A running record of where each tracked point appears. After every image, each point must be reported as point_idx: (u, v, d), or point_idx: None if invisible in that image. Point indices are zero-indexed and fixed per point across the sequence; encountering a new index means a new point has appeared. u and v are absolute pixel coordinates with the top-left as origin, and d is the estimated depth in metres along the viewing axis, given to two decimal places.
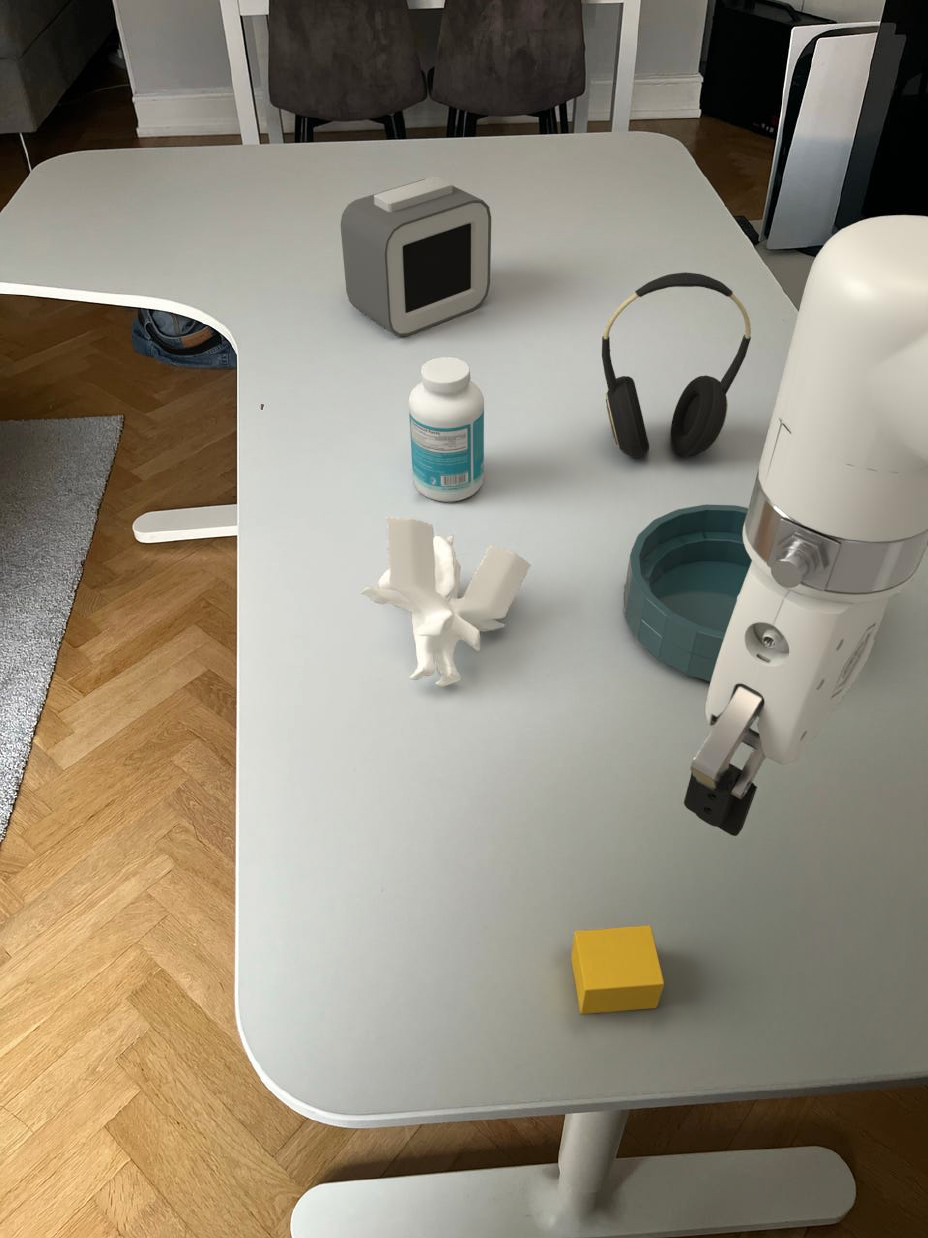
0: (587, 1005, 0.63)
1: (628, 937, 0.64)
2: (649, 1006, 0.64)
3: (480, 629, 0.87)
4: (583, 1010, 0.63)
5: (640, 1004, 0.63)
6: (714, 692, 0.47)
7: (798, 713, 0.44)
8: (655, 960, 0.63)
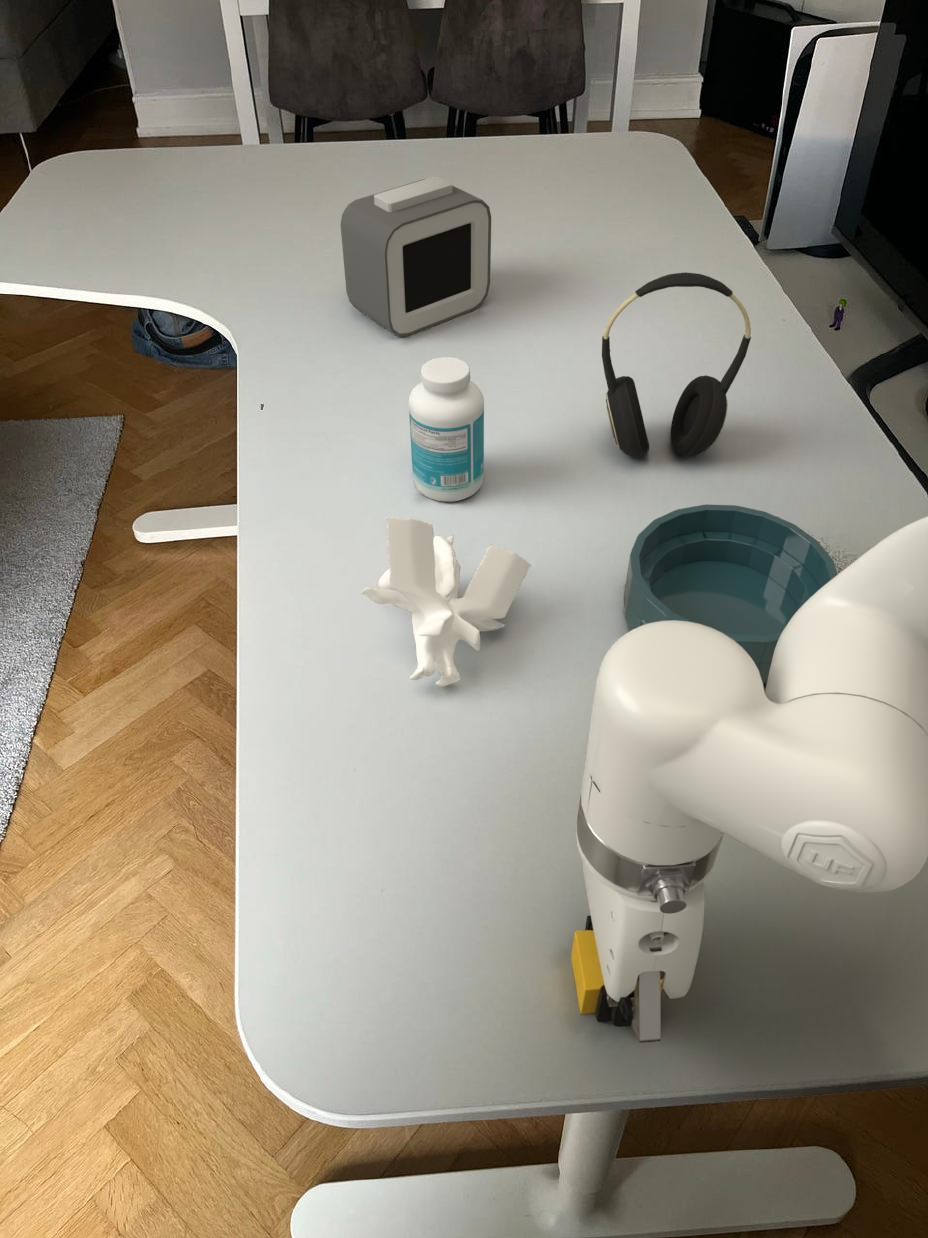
0: (587, 1005, 0.63)
1: None
2: None
3: (480, 629, 0.87)
4: (583, 1010, 0.63)
5: None
6: (619, 985, 0.54)
7: (692, 966, 0.54)
8: None
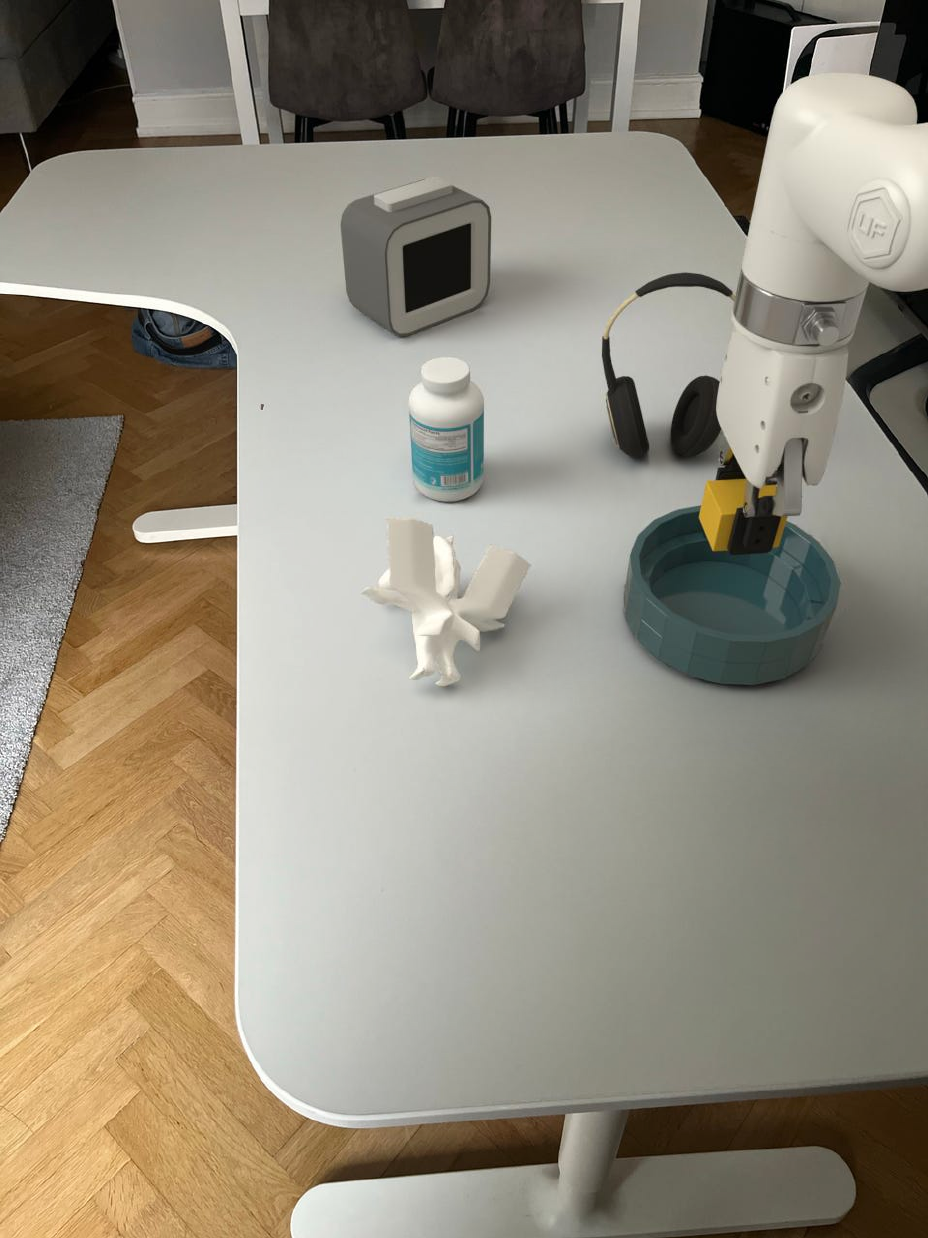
0: (720, 537, 0.72)
1: None
2: None
3: (480, 629, 0.87)
4: (715, 545, 0.72)
5: None
6: (767, 458, 0.63)
7: (831, 437, 0.63)
8: None
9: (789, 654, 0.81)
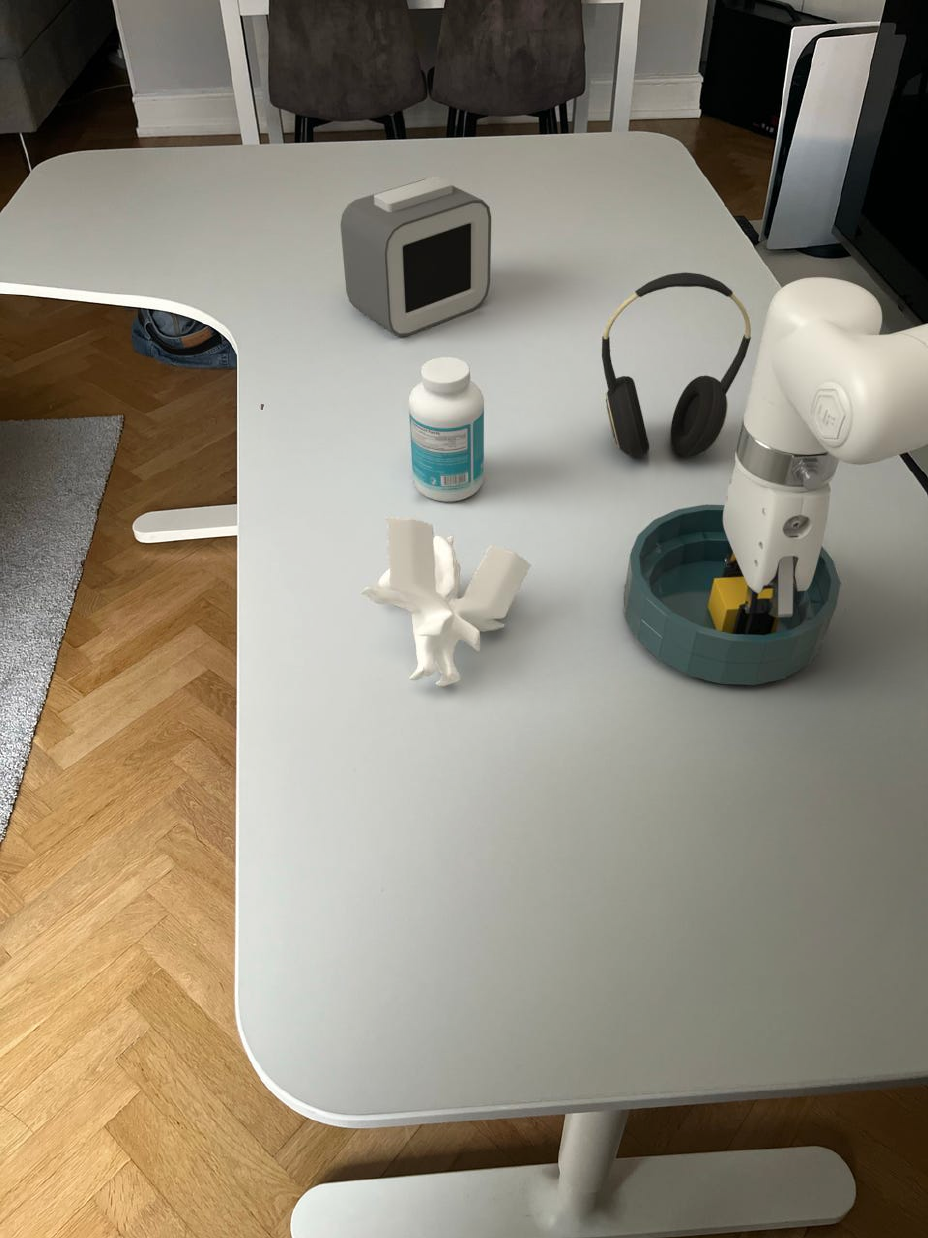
0: (725, 627, 0.85)
1: None
2: None
3: (480, 629, 0.87)
4: None
5: None
6: (764, 571, 0.77)
7: (817, 555, 0.77)
8: None
9: (789, 654, 0.81)
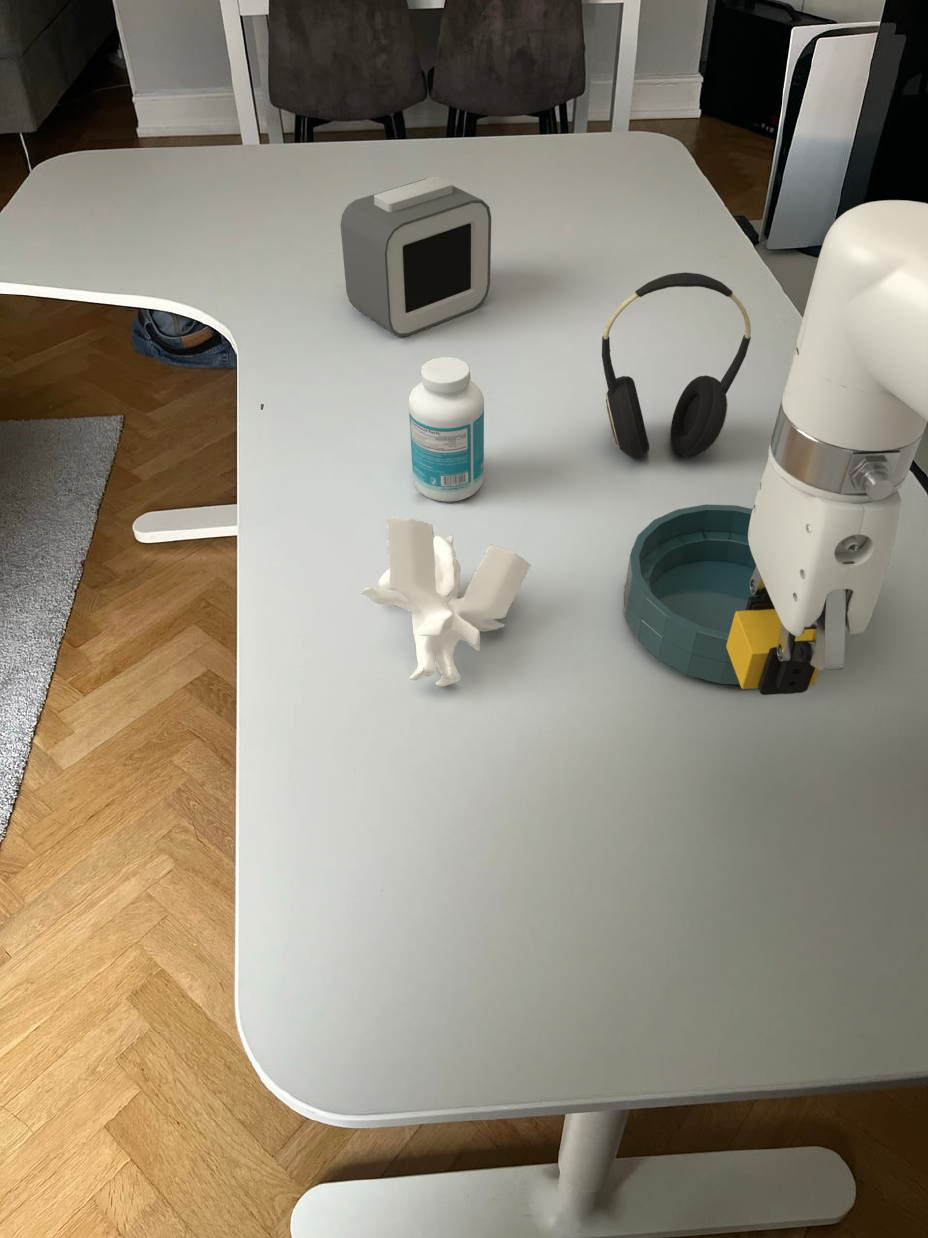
0: (750, 676, 0.65)
1: None
2: None
3: (480, 629, 0.87)
4: (745, 683, 0.66)
5: None
6: (807, 609, 0.57)
7: (879, 587, 0.56)
8: None
9: None
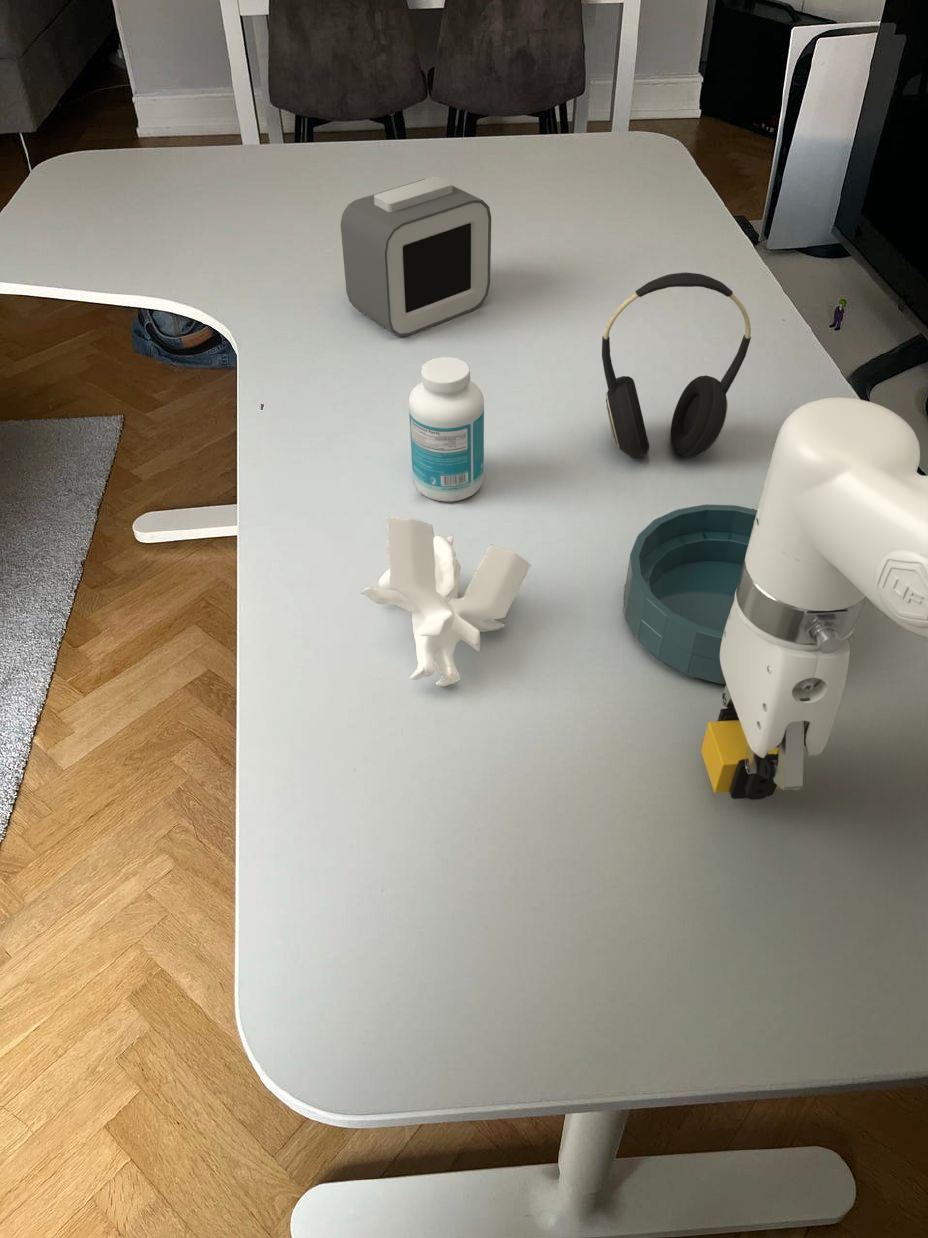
0: (721, 782, 0.72)
1: None
2: None
3: (480, 629, 0.87)
4: (717, 788, 0.73)
5: None
6: (769, 736, 0.64)
7: (833, 719, 0.63)
8: None
9: None
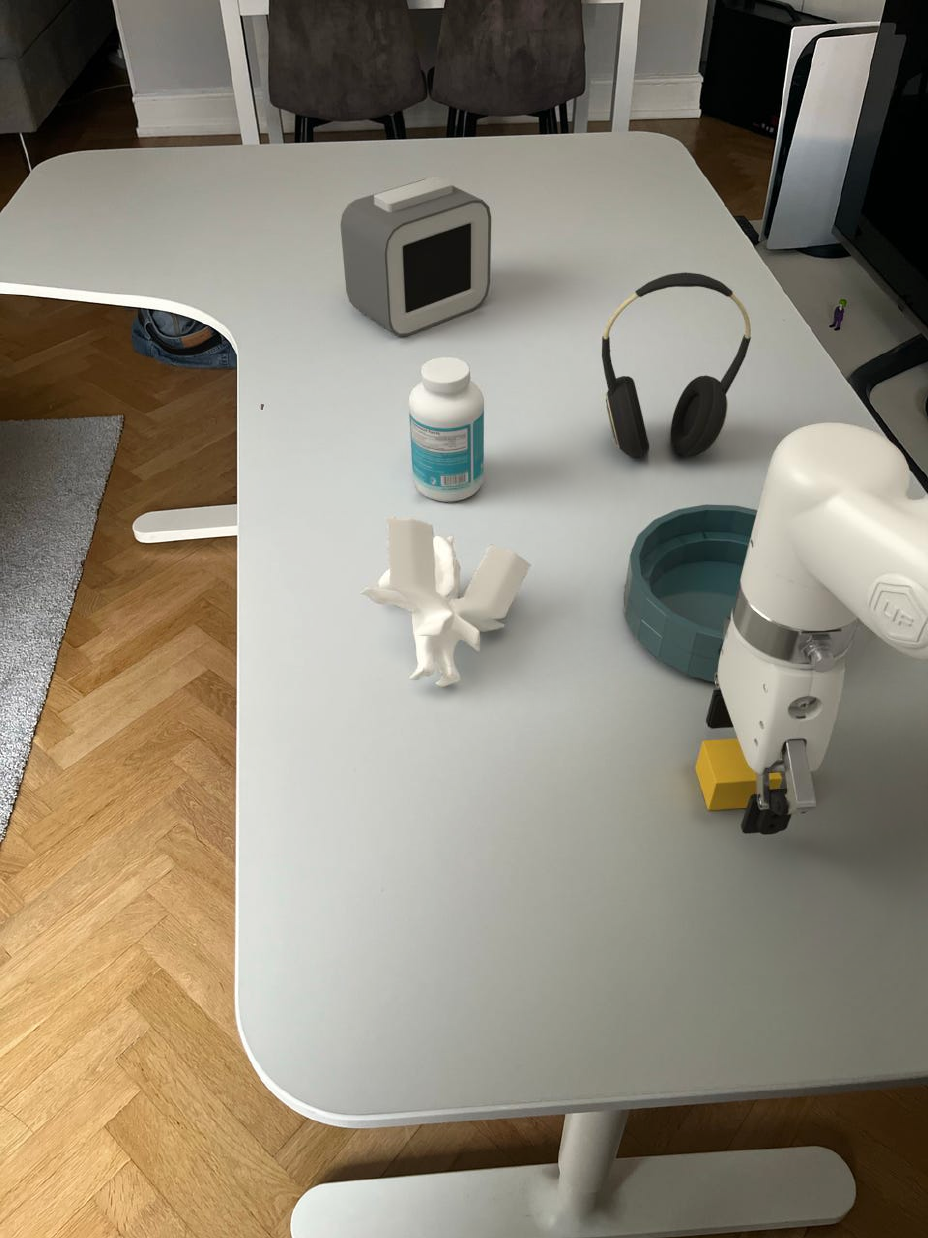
0: (715, 800, 0.74)
1: None
2: None
3: (480, 629, 0.87)
4: (710, 806, 0.74)
5: None
6: (766, 754, 0.65)
7: (829, 736, 0.64)
8: None
9: None
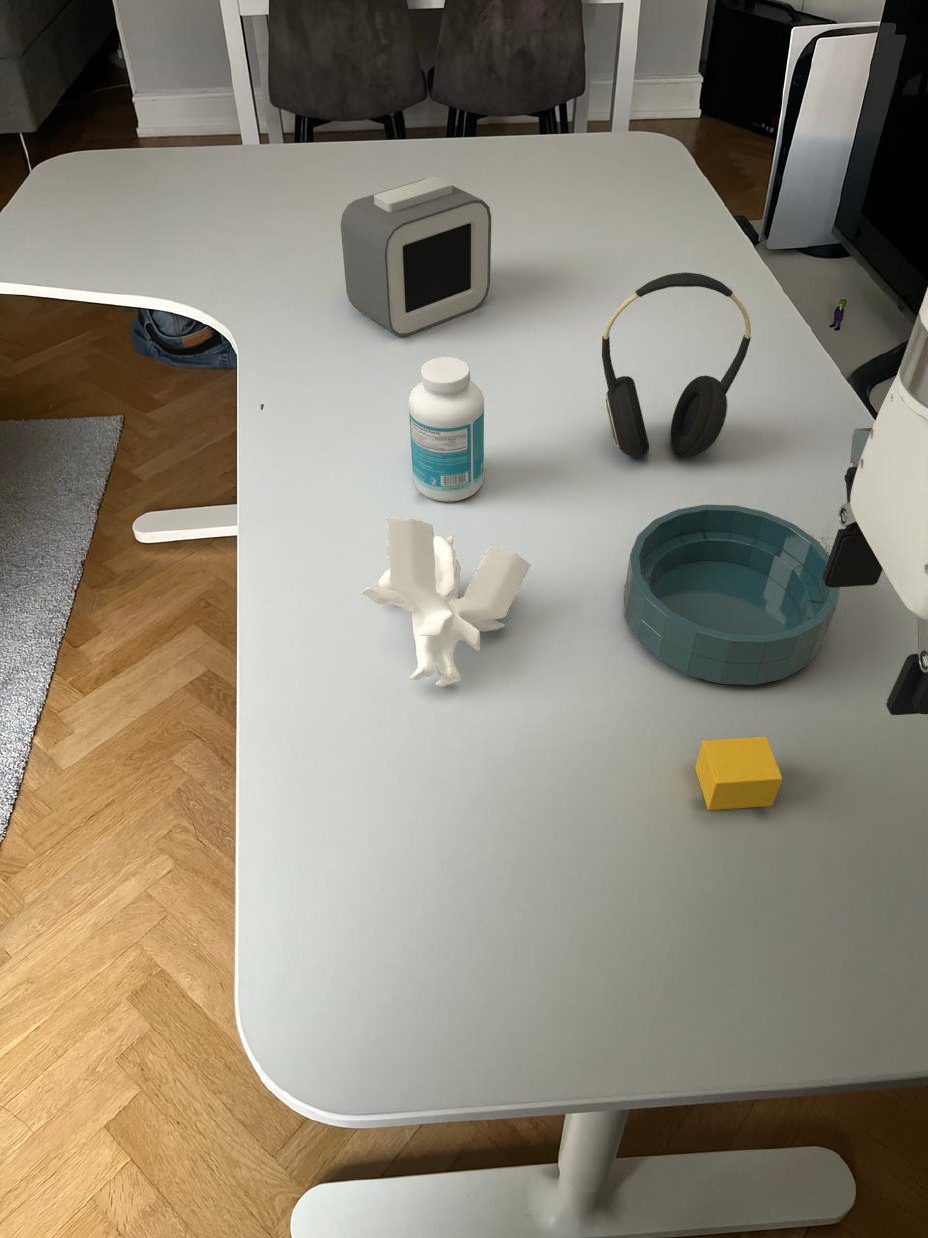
0: (715, 800, 0.74)
1: (748, 745, 0.75)
2: (766, 803, 0.75)
3: (480, 629, 0.87)
4: (710, 806, 0.74)
5: (759, 801, 0.74)
6: None
7: None
8: (773, 761, 0.74)
9: (789, 654, 0.81)
